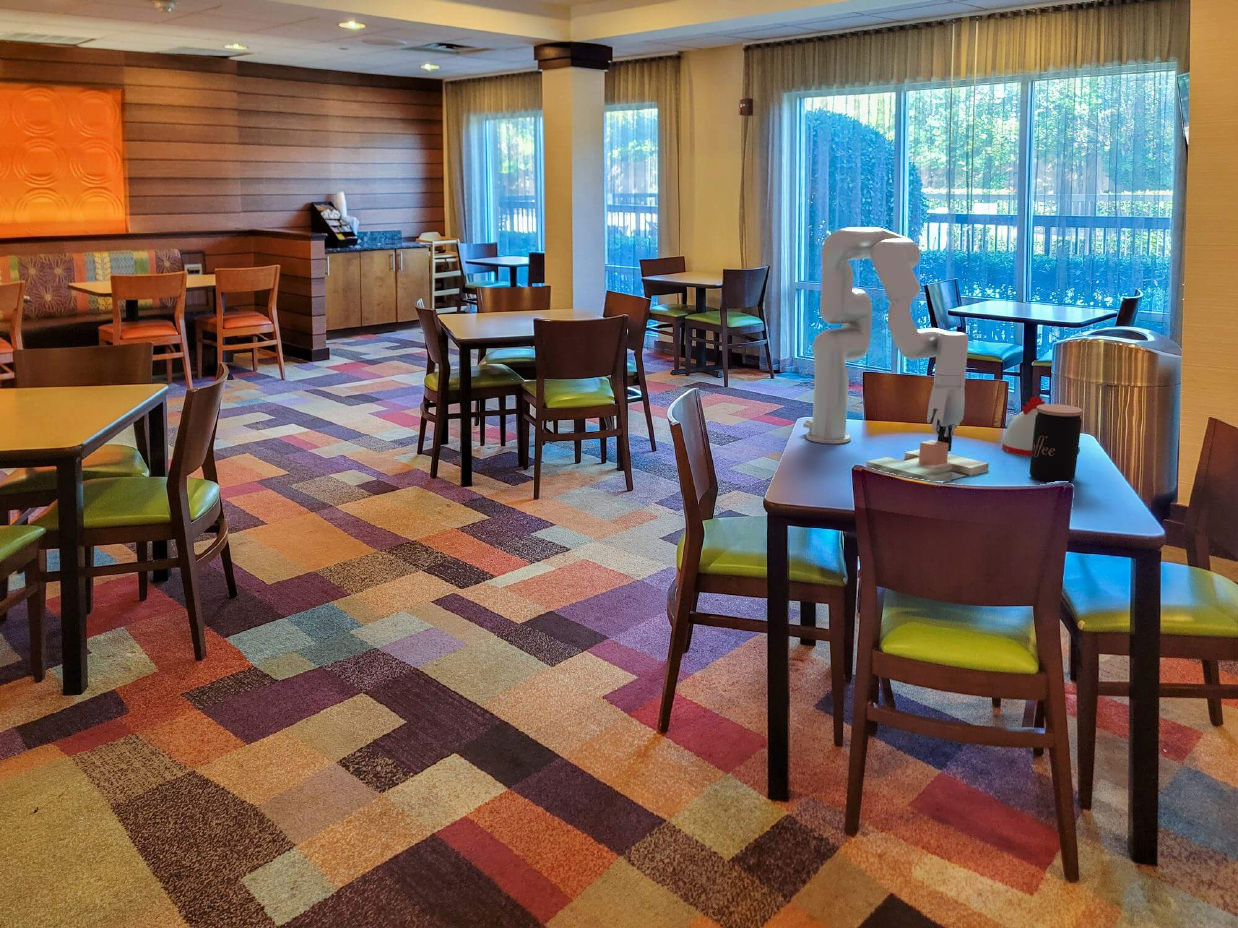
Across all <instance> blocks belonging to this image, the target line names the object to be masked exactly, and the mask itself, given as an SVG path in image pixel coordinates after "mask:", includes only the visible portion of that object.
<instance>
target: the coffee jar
mask: <svg viewBox="0 0 1238 928" xmlns="http://www.w3.org/2000/svg"><path fill="white" fill-rule="evenodd" d="M1037 412H1038V414H1037V415H1036V417H1035V426H1034V435H1033V444H1032V453H1031V456H1030V462H1029V472H1028V473H1029V475H1030V477H1031V478H1032V479H1033V480H1034V481H1037V480H1038V481H1037V482H1042V483H1045V484H1047V483H1046V482H1055V481H1069V482H1070V483H1071V482H1072V481H1073V480H1074V479H1075V477H1076V470H1077V462H1078V455H1079V454H1078V447H1079V445H1080V437H1081V430H1082V422H1083V421H1082V418H1081V416H1082V415H1083V413H1084V409H1082V408H1080V407H1077V406H1073V405H1067V404H1057V403H1054V404H1053V403H1045V404H1043V405H1038V406H1037ZM1079 448H1080V447H1079Z"/></svg>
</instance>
